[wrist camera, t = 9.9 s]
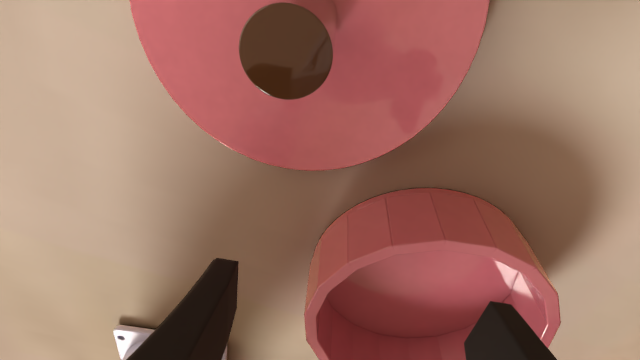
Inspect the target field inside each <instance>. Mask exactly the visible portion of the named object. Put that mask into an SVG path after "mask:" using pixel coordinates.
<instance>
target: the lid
mask: <svg viewBox="0 0 640 360" xmlns="http://www.w3.org/2000/svg"><path fill="white" fill-rule="evenodd" d="M489 2H490V0H130V5H131V11H132V16H133V19H134V22H135V26H136V29H137V32H138V35H139V39H140V41H141V44H142V46H143V48H144V51H145V53H146V55H147V58H148V60H149V62H150V64H151V66H152V67H153V69H154V71H155V73H156V74H157V76H158V78H159V80H160V82H161V83H162V84H163V86H164V87H165V89H166V90H167V91H168V93H169V94H170V96H171V97H172V98H173V100H174V101H175V102H176V103H177V104H178V105H179V107H180V108H181V109H182V110H183V111H184V112H185V113H186V115H187V116H188V117H190V118H191V119H192V120H193V121H194V122H195V123H196V124H197V125H198V126H199V127H200V128H201V129H203V130H204V131H205V132H207V133H208V134H209V135H211V136H212V137H213V138H215V139H216V140H217V141H219V142H221V143H222V144H224V145H226V146H227V147H229V148H231V149H232V150H234V151H236V152H238V153H240V154H243V155H245V156H247V157H249V158H251V159H254V160H257V161H260V162H263V163H266V164H269V165H273V166H278V167H283V168H287V169H296V170H306V171H307V170H331V169H339V168H345V167H349V166H353V165H357V164H361V163H364V162H367V161H369V160H372V159H375V158H378V157H380V156H382V155H384V154H386V153H388V152H390V151H392V150H394V149H396V148H397V147H399V146H400V145H402V144H403V143H405V142H406V141H408V140H409V139H411V138H412V137H414V136H415V135H416V134H417V133H419V132H420V131H421V130H422V129H423V128H424V127H426V126H427V125H428V124H429V123H430V122H431V121H432V120H433V119H434V118H435V117H436V116H437V115H438V114H439V113H440V111H441V110H442V109H443V108H444V107H445V106H446V104H447V103H448V102H449V100H450V99H451V98H452V96H453V95H454V94H455V92H456V91H457V89H458V88H459V86H460V84H461V82H462V81H463V79H464V77H465V75H466V74H467V72H468V70H469V68H470V66H471V63H472V61H473V59H474V57H475V54H476V52H477V50H478V47H479V44H480V41H481V37H482V34H483V31H484V27H485V24H486V19H487V13H488V7H489Z"/></svg>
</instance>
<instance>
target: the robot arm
mask: <svg viewBox="0 0 640 360" xmlns="http://www.w3.org/2000/svg"><path fill="white" fill-rule="evenodd" d="M237 285H238V261H232V260H226V259H219V258H216V259H214V260H213V261H212V262H211V264H210V265H209V267H208V268H207V269H206V271H205V272H204V273H203V275H202V276H201V277H200V279H199V280H198V281H197V282H196V284H195V285H194V286H193V287H192V289H191V290H190V291H189V292H188V293H187V295H186V296H185V297H184V298H183V299H182V301H181V302H180V303H179V304H178V305H177V306H176V307H175V309H174V310H173V311H172V312H171V313H170V314H169V315H168V317H167V318H166V319H165V320H164V321H163V322H162V323H161V324H160V325H159V327H158V328H157V329H156V330H154V329H147V328H140V327H133V326H126V325H117V326H116V327H115V329H114V330H113V333H114V337H115V340H116V344H117V348H118V351H119V355H120V358H121V360H227V343H228V339H229V335H230V332H231V328H232V324H233V320H234V316H235V312H236V308H237ZM464 349H465V356H466V360H557V359H556V358H555V357H554V355H553V354H552V353H551V352H550V351H549V349H548V348H547V347H546V346H545V344H544V343H543V342H542V341H541V340H540V338H539V337H538V336H537V335H536V333H535V332H534V331H533V330H532V329H531V327H530V326H529V325H528V324H527V322H526V321H525V320H524V319H523V318H522V316H521V315H520V314H519V313H518V312H517V311H516V309H515V308H514V307H513V306H512V305H511V304H506V303H500V302H493V301H490V302H489V304H488V305H487V307H486V308H485V310H484V312H483V313H482V315H481V316H480V318H479V320H478V321H477V323H476V324H475V326H474V327H473V329H472V331H471V332H470V334H469V335H468V337H467V339H466V340H465V342H464Z"/></svg>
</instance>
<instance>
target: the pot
mask: <svg viewBox="0 0 640 360" xmlns="http://www.w3.org/2000/svg"><path fill="white" fill-rule="evenodd" d="M490 301H493V302H500V303H506V304H511V305H512V306H513V307H514V308H515V309H516V311H517V312H518V313H519V314H520V315H521V316H522V318H523V319H524V320H525V321H526V322H527V324H528V325H529V326H530V327H531V329H532V330H533V331H534V332H535V333H536V335H537V336H538V337H539V338H540V340H541V341H542V342H543V343H544V344H545V346H546V347H547V348H548V347H549V345H550V343H551V341H552V339H553V338H554V336H555V334H556V332H557V330H558V328H559V326H560V323H561V321H560V310H559V298H558V293H557V291H556V289H555V288H554V286H553V284H552V283H551V281H550V279H549V278H548V276H547V274H546V273H545V271H544V269H543V268H542V266H541V264H540V263H539V261H538V259H537V258H536V256H535V254H534V253H533V251H532V249H531V248H530V246H529V244H528V242H527V241H526V240H525V238H524V237H523V236H522V234H521V233H520V232H519V230H518V229H517V227H516V226H515V224H514V223H513V222H512V220H511V219H510V218H509V217H507V216H506V215H505V214H504V213H503V212H502V211H501V210H499V209H498V208H496V207H495V206H493V205H492V204H490V203H488V202H486V201H484V200H482V199H480V198H478V197H475V196H472V195H469V194H466V193H463V192H458V191H453V190H448V189H438V188H414V189H406V190H399V191H394V192H390V193H385V194H382V195H379V196H376V197H374V198H371V199H368V200H366V201H364V202H362V203H360V204H358V205H356V206H354V207H353V208H351V209H349V210H348V211H346V212H345V213H344V214H342V215H341V216H340V217H339V218H337V219H336V220H335V221H334V222H333V223H332V224H331V225H330V226H329V227H328V228H327V229H326V231H325V232H324V234H323V235H322V236H321V238H320V239H319V242H318V244H317V246H316V248H315V251H314V254H313V258H312V261H311V263H310V270H309V278H308V287H307V295H306V304H305V312H304V318H305V330H306V340H307V342H308V344H309V345H310V347H311V348H312V350H313V351H314V353H315V354H316V355H317V357H318V358H319V360H466V356H465V349H464V342H465V340H466V339H467V337H468V335H469V334H470V332H471V331H472V329H473V327H474V326H475V324H476V323H477V321H478V320H479V318H480V316H481V315H482V313H483V312H484V310H485V308H486V307H487V305H488V304H489V302H490Z"/></svg>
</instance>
